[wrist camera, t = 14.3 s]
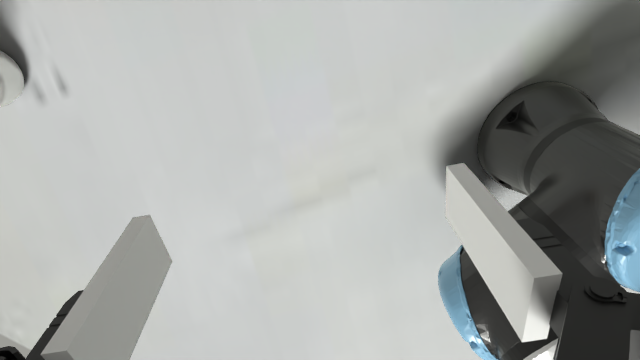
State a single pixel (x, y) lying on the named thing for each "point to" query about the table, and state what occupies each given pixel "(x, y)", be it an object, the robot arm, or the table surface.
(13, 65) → the plastic bottle
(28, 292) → the table surface
